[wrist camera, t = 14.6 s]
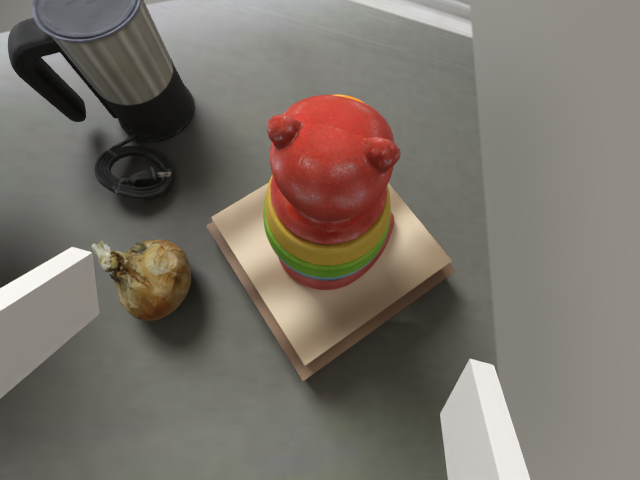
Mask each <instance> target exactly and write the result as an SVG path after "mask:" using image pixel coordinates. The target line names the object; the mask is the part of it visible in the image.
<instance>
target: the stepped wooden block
mask: <svg viewBox="0 0 640 480" xmlns="http://www.w3.org/2000/svg"><path fill="white" fill-rule="evenodd" d="M268 184H269V183H268ZM268 184H266V185H264V186H263V187H261V188H259V189H258V190H256V191H254V192H252V193H251V194H249V195H247V196H246V197H244V198H242V199H241V200H239V201H237V202H236V203H234V204H232V205H231V206H229V207H227V208H226V209H224V210H222V211H221V212H219V213H217V214H216V215H214V216H212V217H211V218H212V219H213V222H211V223H209V224H208V225H206V226H207V228H208V230H209V231H210V233H211V234H212V236H213V238H214V239H215V241H216V243H217V244H218V246H219V247H220V249H221V251H222V252H223V254H224V255H225V257H226V259H227V260H228V262H229V263H230V265H231V267H232V268H233V270H234V271H235V273H236V275H237V276H238V278H239V279H240V281H241V283H242V284H243V286H244V287H245V289H246V291H247V292H248V294H249V295H250V297H251V299H252V300H253V302H254V304H255V305H256V307H257V308H258V310H259V312H260V313H261V315H262V316H263V318H264V320H265V321H266V323H267V324H268V326H269V328H270V329H271V331H272V332H273V334H274V336H275V337H276V339H277V340H278V342H279V344H280V345H281V347H282V348H283V350H284V352H285V353H286V355H287V356H288V358H289V360H290V361H291V363H292V365H293V366H294V368H295V369H296V371H297V373H298V374H299V376H300V377H301V379H302V381H304V380H306V379H307V378H308V377H310V376H311V375H313V374H314V373H315V372H317V371H318V370H320V369H321V368H322V367H324V366H325V365H326V364H328V363H329V362H331V361H332V360H333V359H335V358H336V357H338V356H339V355H340V354H342V353H343V352H345V351H346V350H347V349H349V348H350V347H351V346H353V345H354V344H356V343H357V342H358V341H360V340H361V339H363V338H364V337H365V336H367V335H368V334H369V333H371V332H372V331H374V330H375V329H376V328H378V327H379V326H381V325H382V324H383V323H385V322H386V321H387V320H389V319H390V318H392V317H393V316H394V315H396V314H397V313H399V312H400V311H401V310H403V309H404V308H405V307H407V306H408V305H410V304H411V303H412V302H414V301H415V300H417V299H418V298H419V297H421V296H422V295H424V294H425V293H426V292H428V291H429V290H430V289H432V288H433V287H435V286H436V285H437V284H439V283H440V282H442V281H443V280H444V279H446V278H447V277H448V276H450V275H451V274H453V273H454V272H455V270H454V268H453V267H452V266H451V265H450V264H449V263H450V262H451V261H452V260H451V259H450V258H449V257H448V256H447V254H446V253H445V252H444V251H443V249H442V248H441V247H440V246H439V244H438V243H437V242H436V241H435V240H434V238H433V237H432V236H431V235H430V233H429V232H428V231H427V230H426V228H425V227H424V226H423V225H422V224H421V222H420V221H419V220H418V219H417V217H416V216H415V215H414V214H413V213H412V211H411V210H410V209H409V208H408V206H407V205H406V204H405V203H404V201H403V200H402V199H401V198H400V197H399V195H398V194H397V193H396V192H395V190H394V189H393V188H392V187H391V185H390V184H389V183H388V188H389V193H390V206H391V213H392V214H393V215H394V226H393V230H392V233H391V236H390V239H389V241H388V243H387V245H386V247H385V249H384V251H383V253H382V254H381V256H380V257H379V259H378V260H377V261H376V262H375V264H374V265H373V266H372V267H371V268H370V269H369V270H368V271H367V272H366V273H365V274H364V275H362V276H361V277H360V278H358V279H357V280H356V281H354V282H353V283H351V284H349V285H347V286H345V287H342V288H339V289H334V290H318V289H313V288H309V287H307V286H304V285H302V284H300V283H298V282H297V281H296V280H294V279H293V278H292V277H291V276H290V275H289V274H288V273H287V272H286V271H285V270H284V268H283V267H282V265H281V263H280V261H279V258H278V256H277V255H276V254H275V252H274V250H273V249H272V247H271V245H270V243H269V241H268V238H267V236H266V232H265V228H264V220H263V208H264V200H265V196H266V192H267V188H268Z"/></svg>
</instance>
